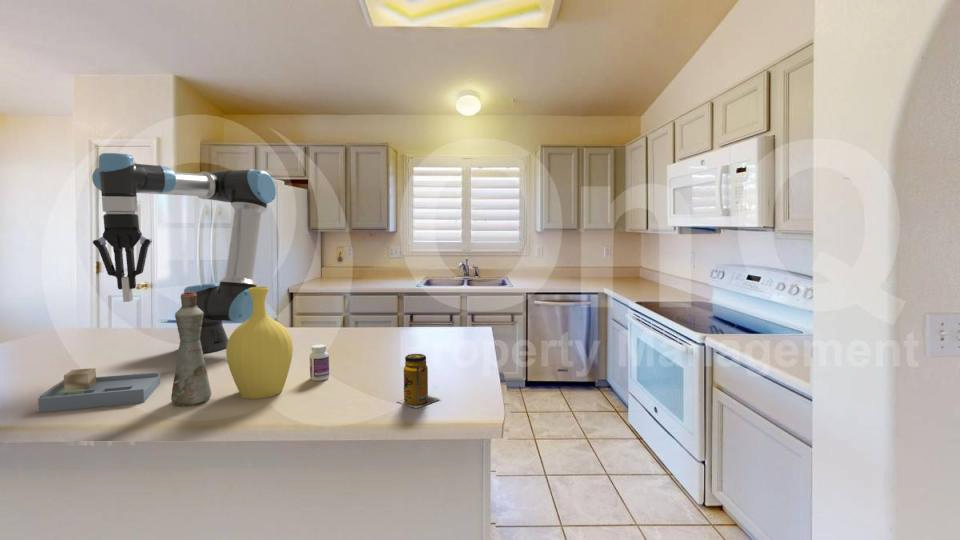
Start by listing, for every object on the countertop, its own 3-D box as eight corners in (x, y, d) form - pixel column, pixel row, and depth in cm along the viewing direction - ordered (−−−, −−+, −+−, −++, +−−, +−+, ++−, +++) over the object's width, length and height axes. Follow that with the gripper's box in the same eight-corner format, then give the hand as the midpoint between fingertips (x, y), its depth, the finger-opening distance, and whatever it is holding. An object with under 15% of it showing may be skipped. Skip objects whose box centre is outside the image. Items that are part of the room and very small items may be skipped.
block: (96, 382, 130) (95, 368, 129) (88, 388, 125) (87, 373, 125) (73, 384, 128) (72, 369, 128) (64, 391, 123) (63, 375, 123)
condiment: (396, 402, 125) (396, 356, 124) (421, 393, 131) (421, 349, 130) (416, 409, 120) (416, 361, 119) (440, 400, 127) (440, 354, 126)
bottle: (183, 410, 118) (178, 294, 115) (164, 403, 123) (158, 291, 120) (219, 399, 125) (214, 290, 122) (199, 393, 130) (194, 288, 127)
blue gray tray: (159, 383, 137) (159, 370, 136) (144, 402, 123) (143, 387, 122) (66, 392, 129) (65, 378, 129) (39, 412, 115) (37, 397, 115)
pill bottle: (333, 376, 145) (332, 344, 144) (321, 382, 140) (321, 348, 139) (317, 374, 147) (317, 342, 146) (306, 380, 142) (305, 347, 141)
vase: (279, 378, 143) (276, 282, 140) (304, 392, 131) (301, 288, 129) (219, 391, 131) (215, 287, 129) (240, 407, 120) (236, 294, 117)
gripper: (153, 213, 136) (159, 297, 139) (95, 213, 131) (103, 300, 134) (146, 213, 129) (153, 301, 132) (85, 213, 124) (93, 305, 127)
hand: (128, 300), depth 133 cm, fingers closed
